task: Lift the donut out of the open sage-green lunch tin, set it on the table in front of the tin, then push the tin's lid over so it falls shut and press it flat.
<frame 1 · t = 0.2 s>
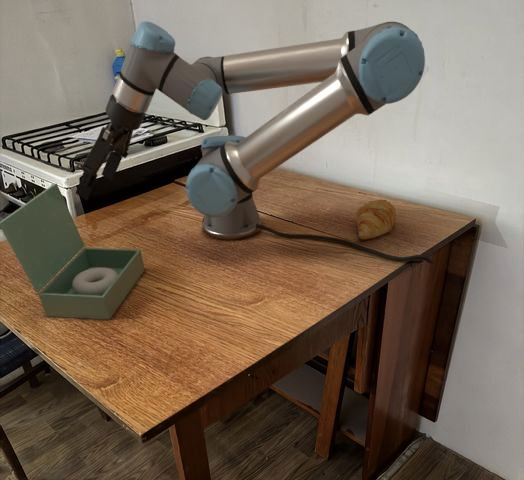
hand: (94, 186, 116), 16 cm above the table, tool tilted 35°, fingers open, 13 cm apart
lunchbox: (98, 291, 108), on the table
lunchbox lid: (46, 235, 102), point 13 cm above the table, hinge at 100.0°
croissant: (373, 228, 129), on the table
donut: (98, 290, 108), resting on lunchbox
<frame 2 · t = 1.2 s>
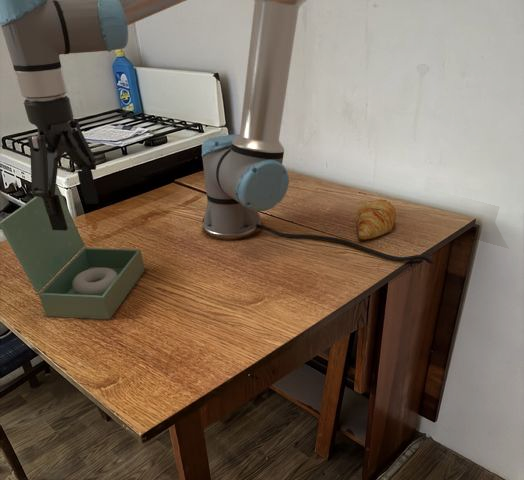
hand: (77, 215, 98), 17 cm above the table, tool pointing down, fingers open, 13 cm apart
nothing on the table moved.
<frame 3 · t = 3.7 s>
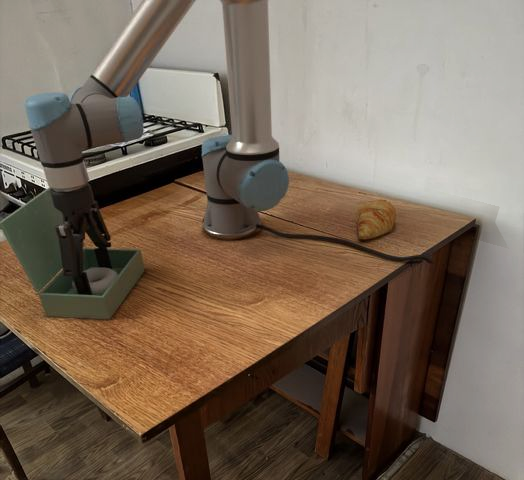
hand: (97, 287, 108), 1 cm above the table, tool pointing down, fingers closed on donut, 10 cm apart
donut: (98, 290, 108), resting on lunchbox, touching gripper
everything else where it was.
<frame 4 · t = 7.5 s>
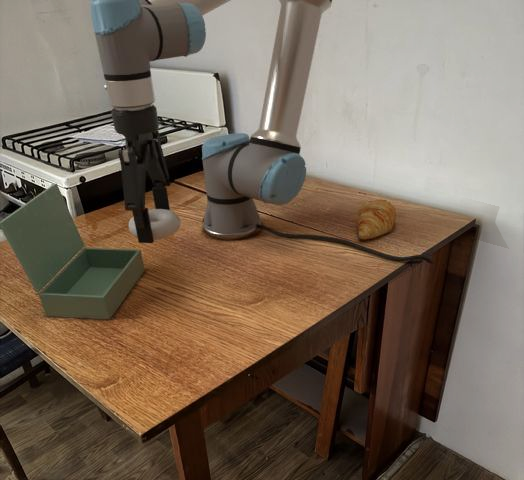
hand: (155, 230, 97), 15 cm above the table, tool pointing down, fingers closed on donut, 10 cm apart
donut: (156, 233, 98), point 14 cm above the table, touching gripper
everything else where it was.
when the fingers open (0 cm above the table, at t = 11.3 s): donut stays where it is, on the table.
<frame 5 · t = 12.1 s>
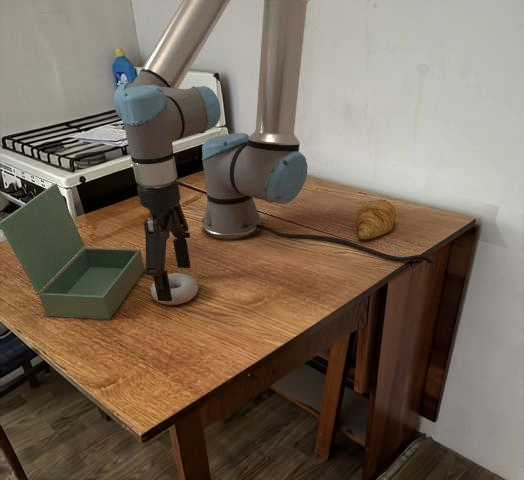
hand: (175, 283, 104), 3 cm above the table, tool pointing down, fingers open, 13 cm apart
donut: (175, 296, 106), on the table
everything else where it was.
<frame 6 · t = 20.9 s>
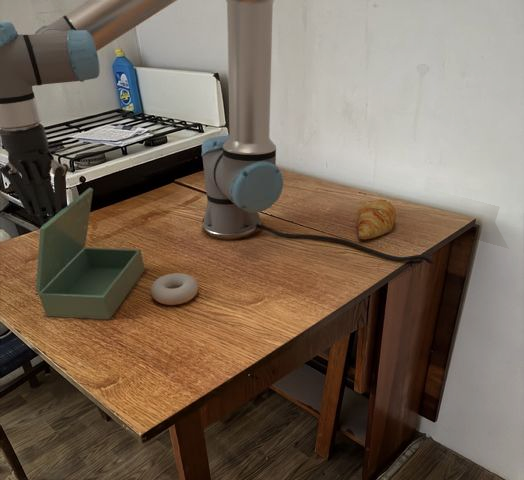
hand: (58, 247, 103), 10 cm above the table, tool pointing down, fingers closed
lunchbox lid: (65, 238, 101), point 12 cm above the table, hinge at 67.6°, touching gripper
everything else where it was.
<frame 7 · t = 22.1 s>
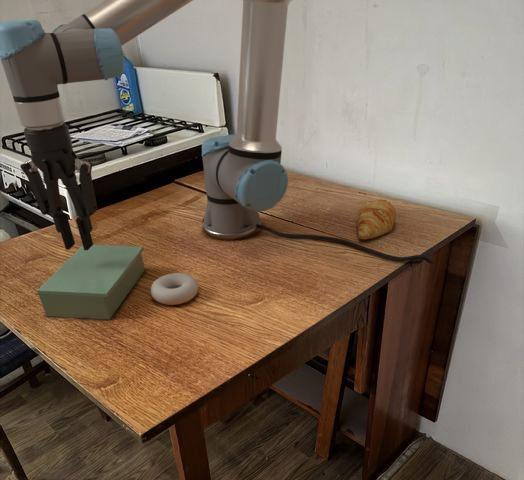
hand: (79, 246, 102), 11 cm above the table, tool pointing down, fingers open, 3 cm apart
lunchbox lid: (94, 268, 105), point 6 cm above the table, hinge at -0.1°
everything else where it was.
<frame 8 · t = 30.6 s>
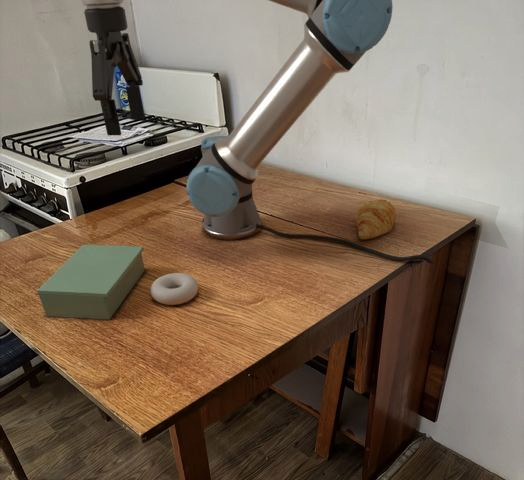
hand: (126, 126, 107), 29 cm above the table, tool pointing down, fingers open, 13 cm apart
nothing on the table moved.
at the end: donut inside the target area (0.1 cm from its centre), on the table; the gripper is holding nothing; lunchbox lid at +0° (first picture: +100°) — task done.
